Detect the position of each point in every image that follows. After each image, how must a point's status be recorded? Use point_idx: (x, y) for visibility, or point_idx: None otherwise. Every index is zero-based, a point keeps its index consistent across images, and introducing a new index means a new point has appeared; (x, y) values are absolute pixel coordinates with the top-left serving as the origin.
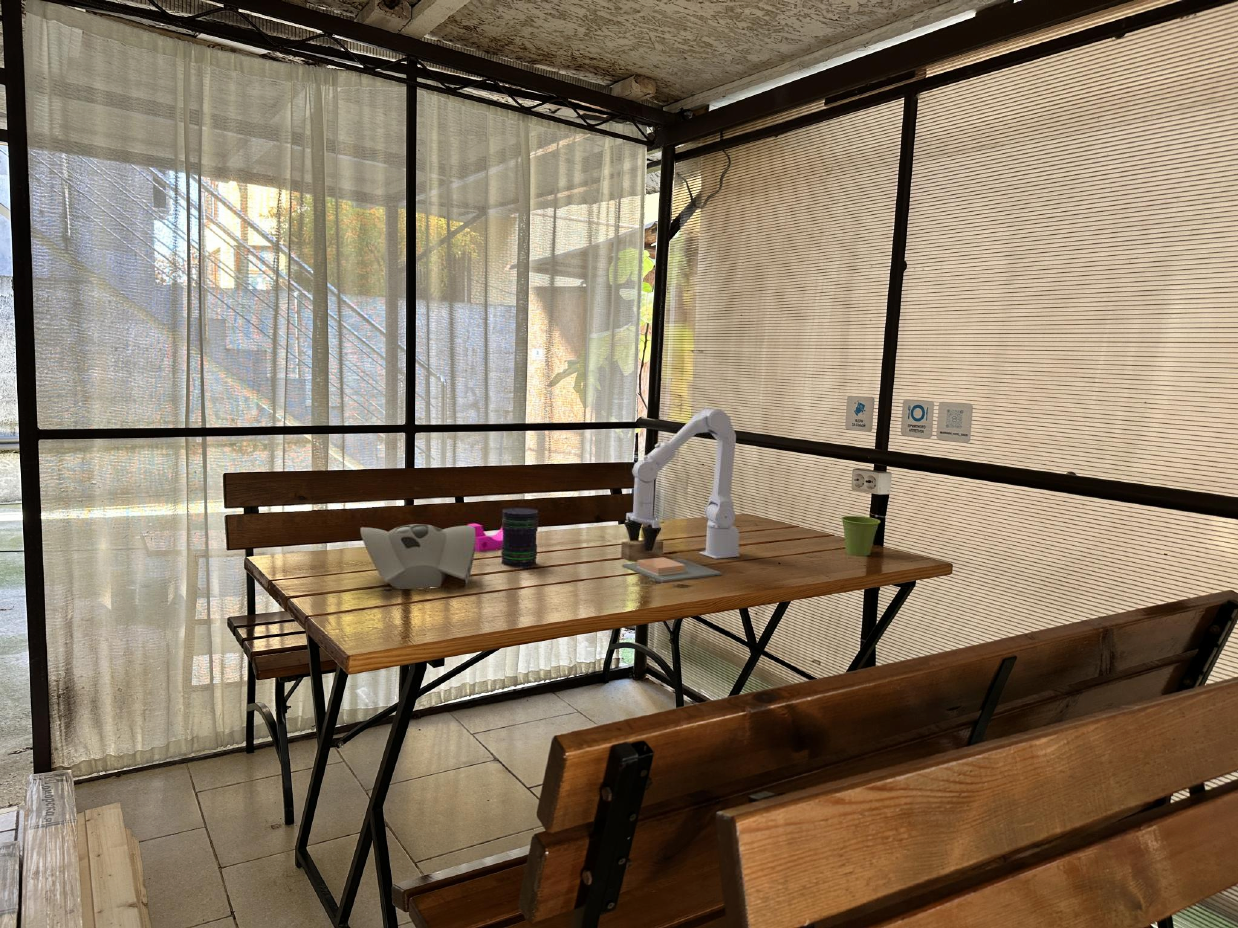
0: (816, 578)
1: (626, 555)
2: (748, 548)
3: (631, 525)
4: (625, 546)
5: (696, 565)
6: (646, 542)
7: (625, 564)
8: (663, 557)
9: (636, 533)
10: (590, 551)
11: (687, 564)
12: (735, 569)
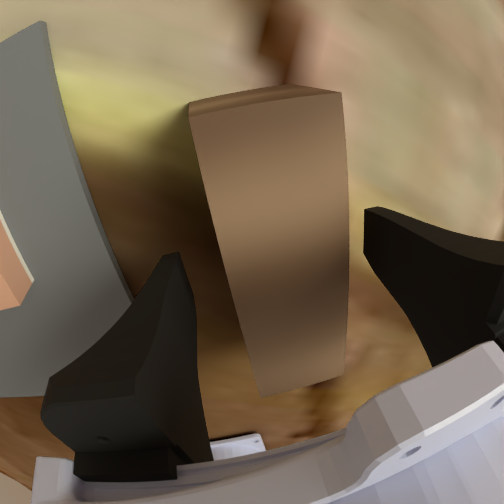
0: (25, 478)
1: (222, 97)
2: None
3: (476, 300)
4: (256, 98)
5: (43, 384)
6: (138, 294)
7: (33, 40)
8: (17, 301)
9: (415, 296)
10: (473, 20)
11: (52, 367)
12: (52, 438)
